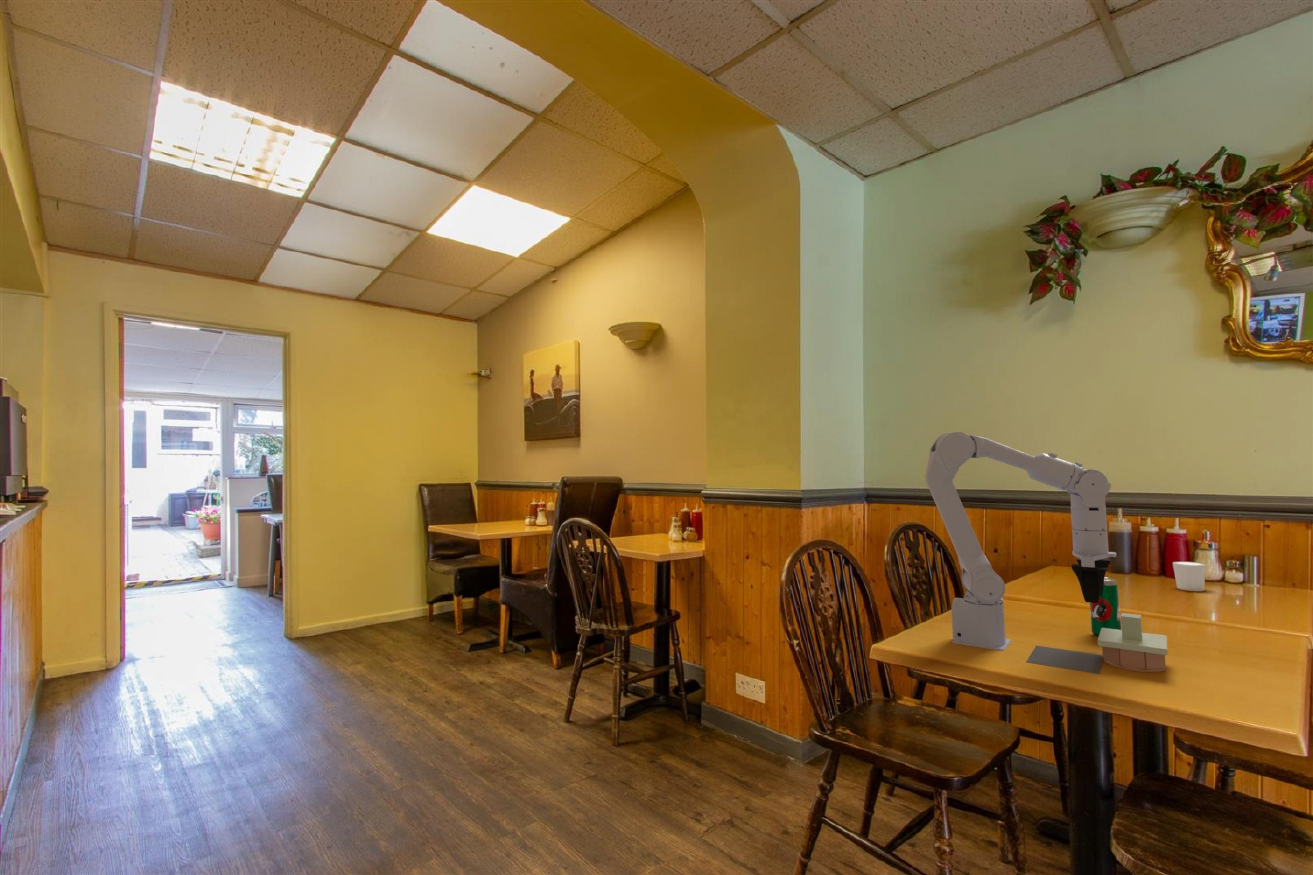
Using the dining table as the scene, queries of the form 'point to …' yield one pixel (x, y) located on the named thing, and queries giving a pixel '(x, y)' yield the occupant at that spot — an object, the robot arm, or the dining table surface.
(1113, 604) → the soda can
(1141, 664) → the bowl
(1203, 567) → the white cup
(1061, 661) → the mat
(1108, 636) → the cover
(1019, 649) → the dining table surface
